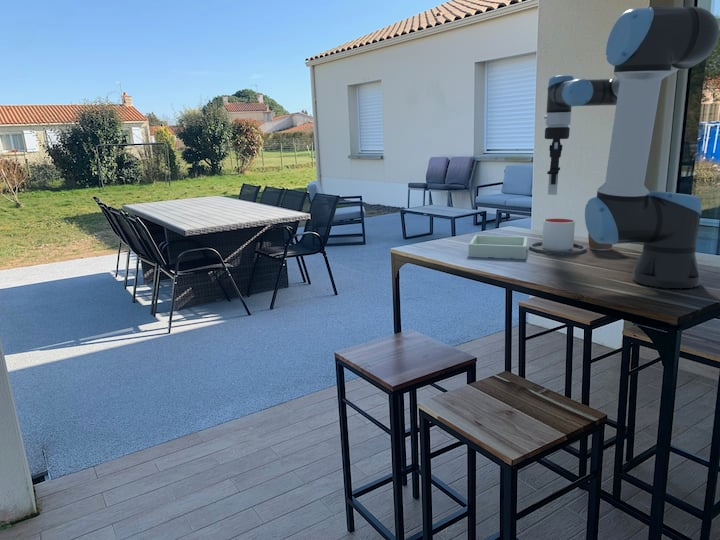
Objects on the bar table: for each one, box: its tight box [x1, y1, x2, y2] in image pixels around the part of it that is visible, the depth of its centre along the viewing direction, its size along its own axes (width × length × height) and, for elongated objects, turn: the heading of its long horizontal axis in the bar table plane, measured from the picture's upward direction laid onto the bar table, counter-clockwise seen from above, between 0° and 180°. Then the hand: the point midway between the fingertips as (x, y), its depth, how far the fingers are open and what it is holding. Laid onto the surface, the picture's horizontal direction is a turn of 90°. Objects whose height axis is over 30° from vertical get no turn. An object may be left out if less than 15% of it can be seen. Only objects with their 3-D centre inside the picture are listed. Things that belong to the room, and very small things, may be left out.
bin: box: [468, 234, 528, 260], centre depth 173 cm, size 18×18×4 cm
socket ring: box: [528, 241, 588, 256], centre depth 177 cm, size 18×18×1 cm
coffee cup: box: [587, 233, 614, 251], centre depth 175 cm, size 10×10×12 cm
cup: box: [541, 218, 576, 251], centre depth 176 cm, size 10×10×10 cm
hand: (552, 192), depth 172 cm, fingers open, 13 cm apart
